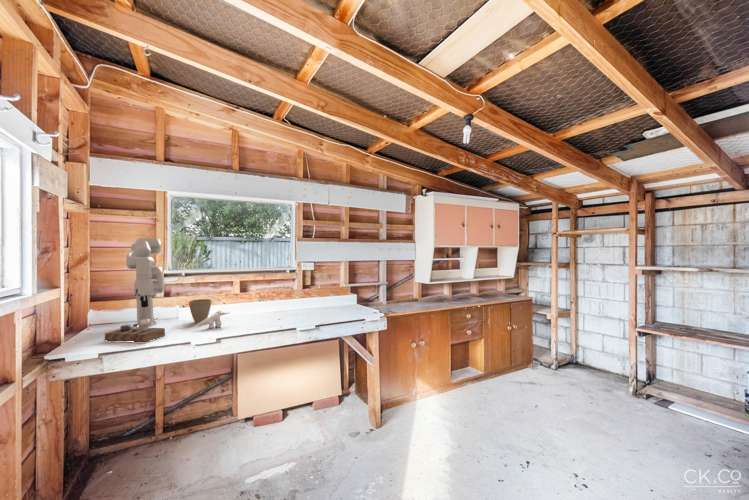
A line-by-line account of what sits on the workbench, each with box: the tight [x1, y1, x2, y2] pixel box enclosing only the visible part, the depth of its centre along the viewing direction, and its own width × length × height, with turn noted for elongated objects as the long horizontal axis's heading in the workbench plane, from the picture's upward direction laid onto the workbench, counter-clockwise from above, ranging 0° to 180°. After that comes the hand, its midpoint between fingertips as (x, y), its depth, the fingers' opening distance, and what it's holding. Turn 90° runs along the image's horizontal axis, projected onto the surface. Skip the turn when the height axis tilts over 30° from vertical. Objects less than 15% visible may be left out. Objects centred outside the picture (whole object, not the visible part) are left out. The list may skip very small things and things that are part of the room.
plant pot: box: [188, 298, 212, 324], centre depth 234 cm, size 15×15×16 cm
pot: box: [131, 323, 139, 331], centre depth 194 cm, size 3×3×4 cm
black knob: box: [120, 324, 131, 332], centre depth 195 cm, size 5×5×8 cm
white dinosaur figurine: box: [193, 309, 231, 329], centre depth 218 cm, size 7×24×11 cm, turn 130°
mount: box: [104, 326, 166, 343], centre depth 194 cm, size 28×14×5 cm, turn 83°
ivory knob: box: [140, 319, 150, 332], centre depth 193 cm, size 5×5×8 cm
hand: (144, 306), depth 193 cm, fingers closed
